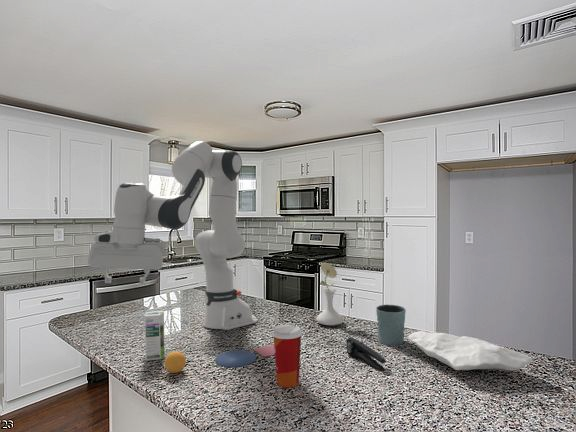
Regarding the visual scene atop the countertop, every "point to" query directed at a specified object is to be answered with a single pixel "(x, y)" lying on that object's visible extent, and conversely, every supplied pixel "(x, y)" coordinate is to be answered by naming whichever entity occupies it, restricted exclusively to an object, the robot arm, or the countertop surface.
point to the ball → (175, 362)
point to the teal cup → (391, 324)
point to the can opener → (364, 353)
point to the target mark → (235, 358)
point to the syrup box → (154, 335)
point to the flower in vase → (329, 300)
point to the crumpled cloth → (468, 352)
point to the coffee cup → (287, 354)
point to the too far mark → (265, 351)
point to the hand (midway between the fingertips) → (125, 283)
